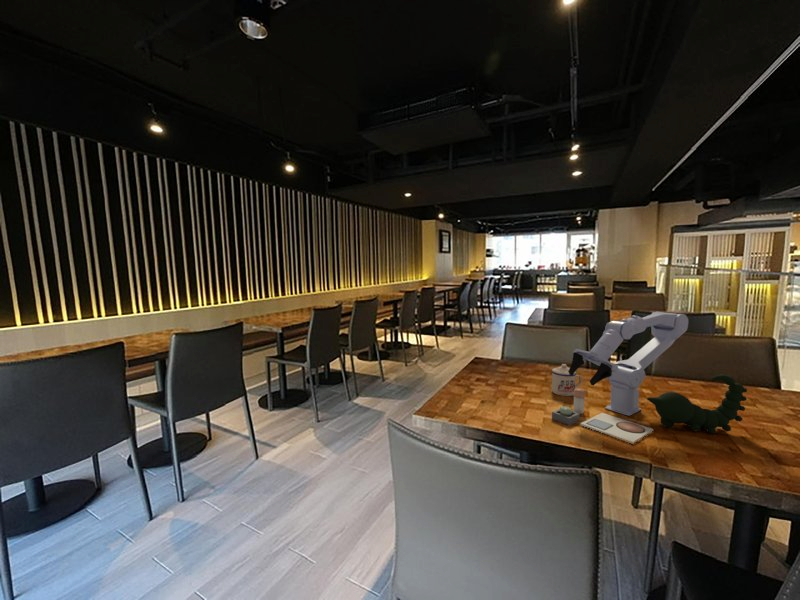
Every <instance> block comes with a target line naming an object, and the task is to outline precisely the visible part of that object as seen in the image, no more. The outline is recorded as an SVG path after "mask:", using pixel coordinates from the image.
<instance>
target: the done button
mask: <svg viewBox="0 0 800 600" xmlns="http://www.w3.org/2000/svg"><path fill="white" fill-rule="evenodd" d="M559 409H560V414H562V415H565V416H568V417H569V416H571V415H572V411H573V410H572V408H571V407H569V406H565V405H564V406H563V405H562V406H560V407H559Z"/></svg>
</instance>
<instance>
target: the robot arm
mask: <svg viewBox="0 0 800 600" xmlns="http://www.w3.org/2000/svg"><path fill="white" fill-rule="evenodd" d="M649 327H650V328H651V329H650V330H651V335H652V336H653V338H651V340H649V341H648V342H647V343H646V344H644V345H643V346H642V347H641V348H640V349H639V350H637V351H636V352H635V353H634V354H633V355H632V356H630V357H629V358H628V359H624V360H618V361H616V362H614V363H613V362H611V361H609V359H610V358H611V356H612V355H613V354H614V353H615V351H616V350H617V348H618V347H619V346H620V345H621V344H622V342H623V341H624V340H631V338H633V336H634V335H636V334H637V335H638V334H639V333H643V332H645V331H646V329H647V328H649ZM688 328H689V317H688V316H687V315H686V314H684V313H671V312H662V311H652V312H651V314H648V315H646V316H643V317H642V316H638V315H634V314H633V315H631V316H630V317H628V318H622V319H621V320H611V321H609V322H607V323H606V325H605V329H604V331H603V332H602V335H601V337H600V338H599V339H598V341H597V342H596V343H595V344H594V346H593V347H592V348H591V349H590V351H587V350H583V349H579V348H575V349H574V350H573V351H572V361H571V364H570V367H569V368H570V369H569V371H568V372H569V374H570V375H573V374H574V373H575V371H578V369H579V368H580V367H581V366H583V365H585V361H588V362H590V363H592V364H594V365H597V366H599V367H598V369H597V370H596V372H595V374H594V375H592V377H591V378H590V380H589V383H590V385H591V386H594V385H596V384H597V383H599V382H600V381H602V380H605V379H607V380H608V381H609V384H610V401H609V403H610V404H609V405H607V406H605V407H604V409H605V410H608V411H612V412H616V413H619V414H622V415H624V416H625V415H626V416H628V417H630V416H632V415H634V414H636V413H638V412H639V411H641V410H642V408H641V407H639V399H640V390H639V389H638V388H639V387H640V386H641V384H642V383H643V380H644V379H646V371H645V369H646V368H647V367H648V366H650V364H652V363H653V362H654V361H655V360H656V359H657V358H658V357H660V356H661V355H662V354H663V353H664V352H666V351H667V350H668V349H669V348H670V347H671V346H672V345H673V344H674V343H675V341H676V340H677V339H679V338H680V337H681V336H682V335H683V334H684V333H686V331H688Z"/></svg>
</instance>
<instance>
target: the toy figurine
mask: <svg viewBox="0 0 800 600" xmlns="http://www.w3.org/2000/svg"><path fill="white" fill-rule="evenodd" d="M710 381H711V382H712V383H713V382H716V381H717V382H718V381H721V382H722V383H724V384H725V385H727V388H728V389H727V391H725V393H724V396H725V397H724V398H723V399H722V401H721V404H720V405H718V406H717V407H716V409H708V408H702V407H701V406H700V405H697V404H694V403H692V402H691V400H690V399H689V398H688V397H686V396H685V395H683V394H682V393H678V392H675V391H674V392H673V391H669V392H668V391H667V392H664V393H662V394H659V396H657V397H656V396H655V397H646V400H647V401H648V402H650V403H651V404H653V405H654V407H655V410H656V412H657V414H658V416H660V419H659V420H660V423H661V424H662V425H663V426H664V427H666V428H667V427H668V429H672V428H674V427H675V425H676V424H679V425H680V424H681V425H682V424H684V425H687V426H688V427H689V429H690V430H691V431H693V432H699V431H701V429H704V430H706V431H707V432H708V433H709V432H710V433H709V434H711V433H714V434H716V432H717V430H716V429H717V428H721V429H722V430H723V431H725V432H731V430H732V427H731V426H730V425H729V423H730V421H734V420H735V421H737V422H742V421H743V417H742V415H738V411H741V412H743V411H745V410H746V407H745V406H743V405H741V402H744V401H745V402H746V401H747V399H748V398H747V397H746V396H744V394H743V393H747V392H748V389H747V388H746V387H745V386H743V385H742V384H741V383H738V382H735V379H734V378H733V377H732V376H730V375H728V374H717V375H714V376H713V377H711V380H710Z"/></svg>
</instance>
